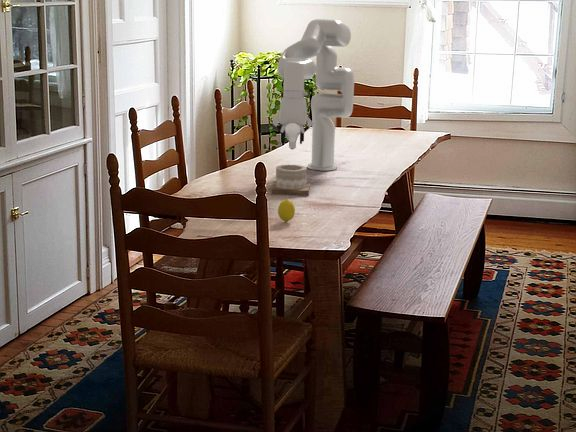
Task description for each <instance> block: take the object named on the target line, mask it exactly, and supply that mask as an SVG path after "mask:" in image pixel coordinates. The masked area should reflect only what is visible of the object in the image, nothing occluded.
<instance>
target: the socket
mask: <svg viewBox="0 0 576 432" xmlns="http://www.w3.org/2000/svg"><path fill="white" fill-rule="evenodd" d="M310 185H311V182H307V167H306V166H304V165H300V164H281V165H277V166H276V168H275V180H273V183H272V186H271V188H270V195H271V196H295V197H296V196H297V197H309V196H310V189H311V186H310Z"/></svg>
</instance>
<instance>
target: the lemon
mask: <svg viewBox="0 0 576 432" xmlns="http://www.w3.org/2000/svg"><path fill="white" fill-rule="evenodd" d="M295 211H296V210H295V204H294V203H293V202H292V201H291V200H289V199H288V198H287V199H286V198H285V199H284V200H282V201H281V202H280V203H279V205H278V209H277V214H278V217H279V218H280V220H281V221H283V222H284V223H288V222H289V221H291V220H292V219H294V216H295V213H296V212H295Z"/></svg>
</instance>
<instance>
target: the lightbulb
mask: <svg viewBox="0 0 576 432" xmlns="http://www.w3.org/2000/svg"><path fill="white" fill-rule="evenodd" d="M284 130H285V136H287V140H288V148H289V149H290V150H295V149H296V148H297V140H298V137H300V133H301V129H300V126H299V125H297V124H295V123H290V124H288V125H286V126H285V129H284Z"/></svg>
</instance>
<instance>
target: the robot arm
mask: <svg viewBox="0 0 576 432" xmlns="http://www.w3.org/2000/svg"><path fill="white" fill-rule="evenodd" d="M351 39H352V34H351V29H350V27H349V26H348V25H347V24H346V23H345V22H342V21H341V20H339V19H338V20H337V19H322V18H321V19H319V18H317V19H313V20H311V21H310V22H309V23H308V24H307V26H306V28H305V31H304V33H303V35H302V37H301V39H300V40H298V41H297V42H295V43H293V44H291V45H289V46H288V47H287V48H285V49H284V50H283V51H282V53H281V56H280V57H279V60H278V63H277V74H278V75H279V76H280V77H281V78H283V93H282V94H283V97H281V99H280V104H279V115H278V116H277V117H276V118H275V119H274V120H273V121H272V125H273V126H275V128H277V130H278V131H280V133H281V136H280V138H281V139H280V141H282V144H285V143H286V133H285V130H284V129H285V126H286V125H288V124H290V123H295V124H297V125H299V126H300V129H301V132H300V134H299V144H300V145H302V144H303V142H304V141H305V133H306V132H307V131H308V130H310V128H311V127H312V132H311V134H312V135H311V138H312V139H311V162H309V163H308V164H307V168H308V169H310V170H312V171H313V170H314V171H321V172H324V171H325V172H326V171H327V172H328V171H329V172H330V171H336V170H337V169H338V164H336V163H335V147H336V146H335V142H336V141H335V140H336V139H335V138H336V126H335V123H334V122H333V120H332V118H343V119H344V118H345V119H346V118H349V117H350V116H351V115H353V114H352V113H353V109H354V95H355V94H354V92H355V75H354V72H353V70H352V69H350V68H349V67H338V63H337V62H338V55H337V52H336V50H335V48H334V47H338V48H339V47H340V48H341V47H342V48H344V47H347V46H348V45H349V44H350V42H351ZM313 57H315V58H316V60H315V61H316V62H314V61H313V60H312V59H311V58H313ZM314 76H315V85H316V87H317V89H318V90H319V89H320V90H324V91H337V92H341V93H330V92H329V93H327V92H319V93H316V94H313V96H312V97H311V100H310V109H311V116H312V117H311V118H312V120H311V118H309V116H308V107H307V106H308V105H307V98H306V97H307V96H308V95H309V92H308V91H305V80H311V79H312V78H314ZM278 122H279V123H278ZM307 123H308V124H307ZM304 126H305V127H304Z"/></svg>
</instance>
